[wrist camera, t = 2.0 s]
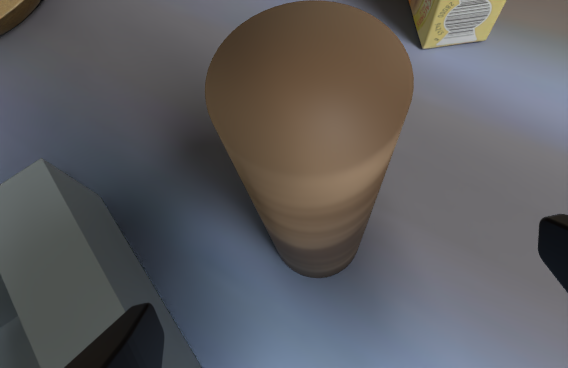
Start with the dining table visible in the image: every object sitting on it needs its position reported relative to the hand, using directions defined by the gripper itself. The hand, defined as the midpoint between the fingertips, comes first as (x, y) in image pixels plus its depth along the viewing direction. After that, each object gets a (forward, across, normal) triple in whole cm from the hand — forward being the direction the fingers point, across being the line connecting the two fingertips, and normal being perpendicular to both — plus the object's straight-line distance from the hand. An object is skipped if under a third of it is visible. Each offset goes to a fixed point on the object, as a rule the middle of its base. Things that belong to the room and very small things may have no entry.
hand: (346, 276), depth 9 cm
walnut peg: (+10, 0, +5) cm, 11 cm away
